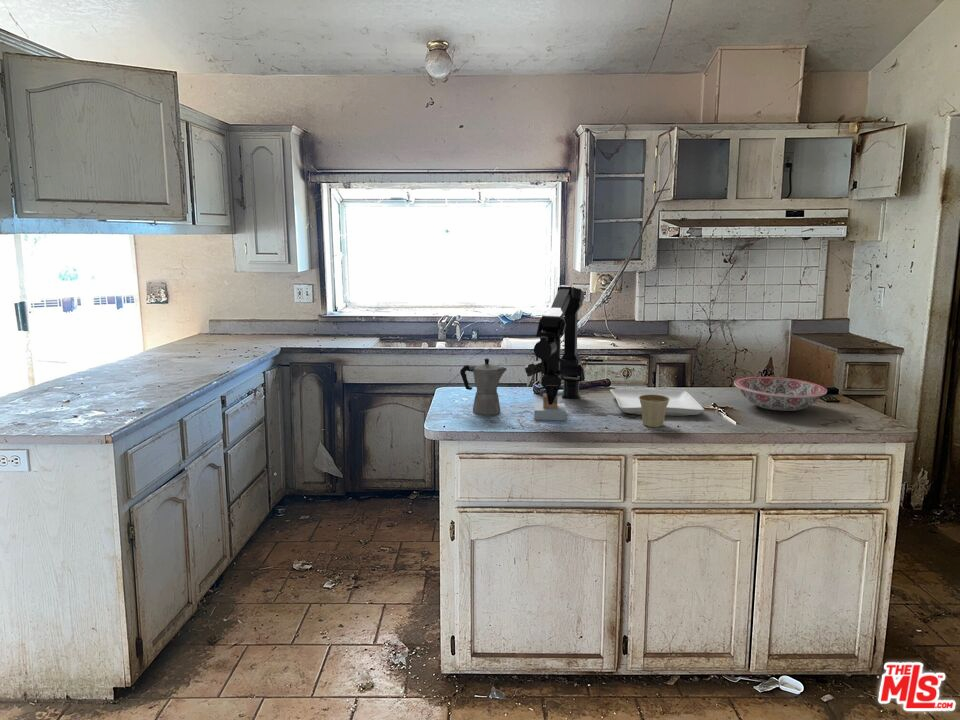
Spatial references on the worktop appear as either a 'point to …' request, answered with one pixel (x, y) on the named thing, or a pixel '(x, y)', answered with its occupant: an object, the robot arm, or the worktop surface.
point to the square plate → (678, 402)
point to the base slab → (549, 412)
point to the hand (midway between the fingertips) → (550, 400)
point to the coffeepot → (485, 387)
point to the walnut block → (545, 402)
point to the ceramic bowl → (780, 392)
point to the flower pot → (653, 409)
